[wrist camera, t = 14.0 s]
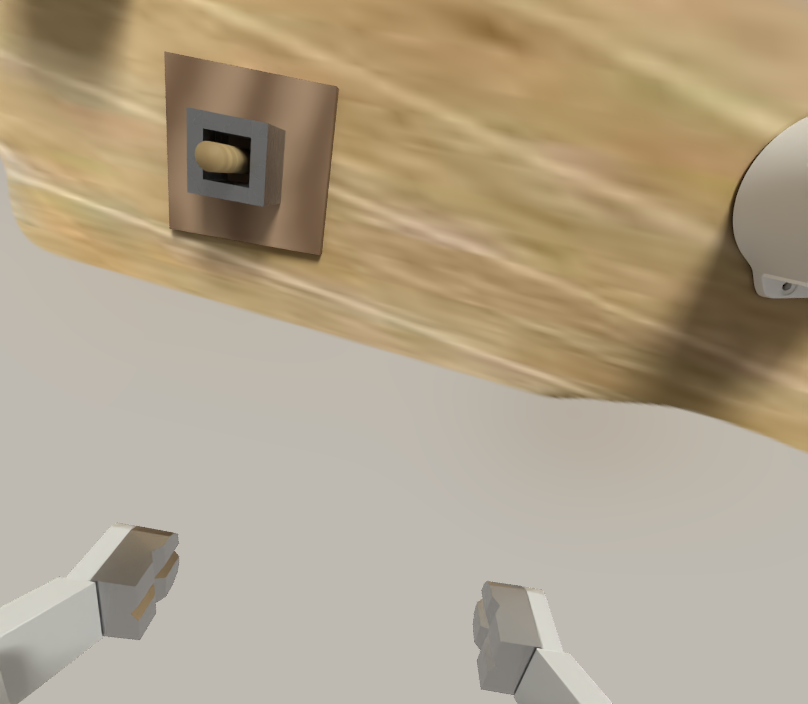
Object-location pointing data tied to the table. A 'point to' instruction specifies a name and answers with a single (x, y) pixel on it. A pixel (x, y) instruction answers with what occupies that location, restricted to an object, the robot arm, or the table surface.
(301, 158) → the post board
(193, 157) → the collar
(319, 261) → the table surface
